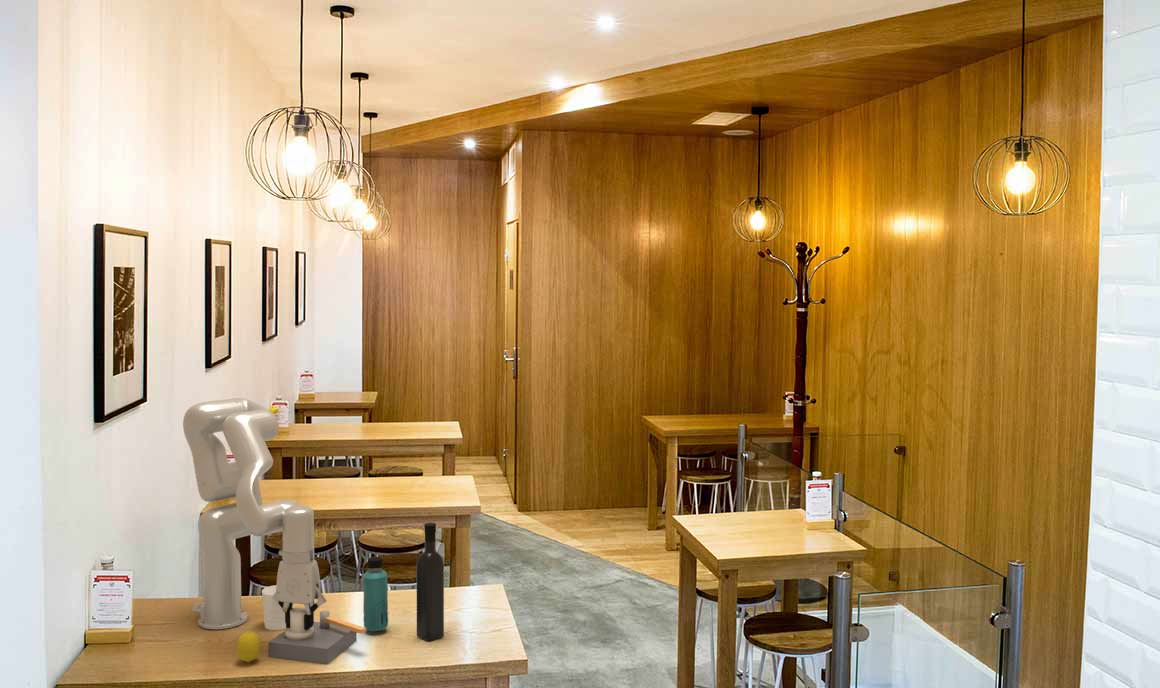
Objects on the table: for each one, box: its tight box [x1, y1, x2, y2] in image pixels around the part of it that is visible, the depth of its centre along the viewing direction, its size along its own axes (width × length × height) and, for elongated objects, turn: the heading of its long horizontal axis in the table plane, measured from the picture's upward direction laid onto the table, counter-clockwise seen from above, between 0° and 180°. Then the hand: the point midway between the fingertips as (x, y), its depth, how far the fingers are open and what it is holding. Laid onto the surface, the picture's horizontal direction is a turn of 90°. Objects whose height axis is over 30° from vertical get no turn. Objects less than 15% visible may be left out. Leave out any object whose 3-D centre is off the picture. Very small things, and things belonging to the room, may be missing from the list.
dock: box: [268, 621, 358, 665], centre depth 237 cm, size 16×15×4 cm
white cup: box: [261, 585, 287, 631], centre depth 252 cm, size 8×8×10 cm
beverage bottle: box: [362, 556, 389, 632], centre depth 248 cm, size 6×7×20 cm
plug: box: [284, 606, 314, 640], centre depth 236 cm, size 7×7×10 cm
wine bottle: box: [416, 522, 445, 642], centre depth 245 cm, size 6×6×30 cm
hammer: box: [319, 610, 367, 635], centre depth 237 cm, size 16×2×4 cm, turn 55°
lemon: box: [236, 630, 262, 664], centre depth 228 cm, size 6×6×8 cm
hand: (299, 626), depth 236 cm, fingers closed on plug, 4 cm apart
